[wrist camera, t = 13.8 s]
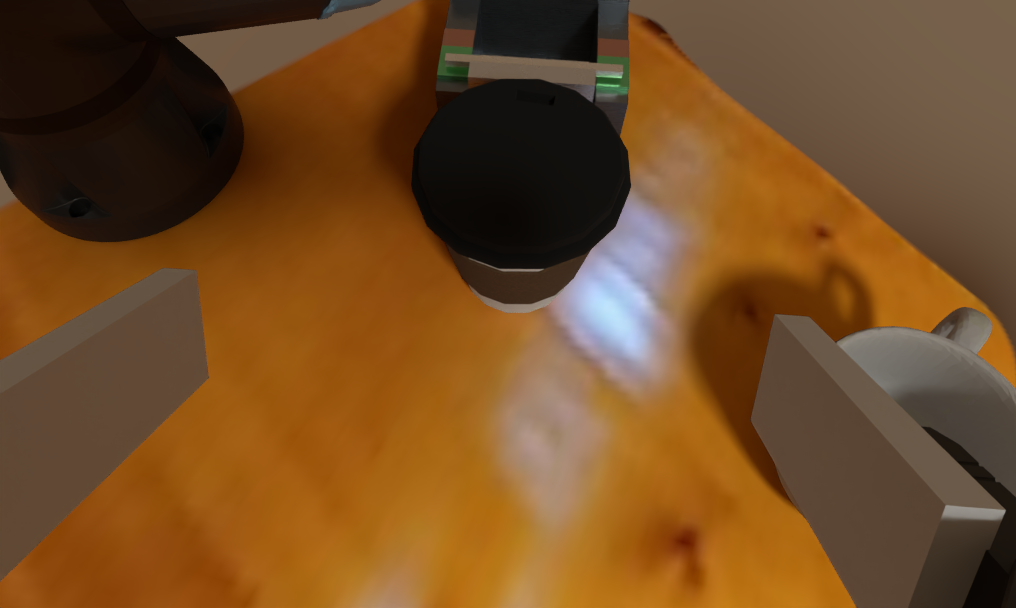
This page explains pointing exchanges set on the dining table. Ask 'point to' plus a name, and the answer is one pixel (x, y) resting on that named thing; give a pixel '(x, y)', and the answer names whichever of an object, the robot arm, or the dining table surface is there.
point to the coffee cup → (520, 187)
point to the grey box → (540, 41)
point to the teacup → (944, 386)
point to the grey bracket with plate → (534, 70)
